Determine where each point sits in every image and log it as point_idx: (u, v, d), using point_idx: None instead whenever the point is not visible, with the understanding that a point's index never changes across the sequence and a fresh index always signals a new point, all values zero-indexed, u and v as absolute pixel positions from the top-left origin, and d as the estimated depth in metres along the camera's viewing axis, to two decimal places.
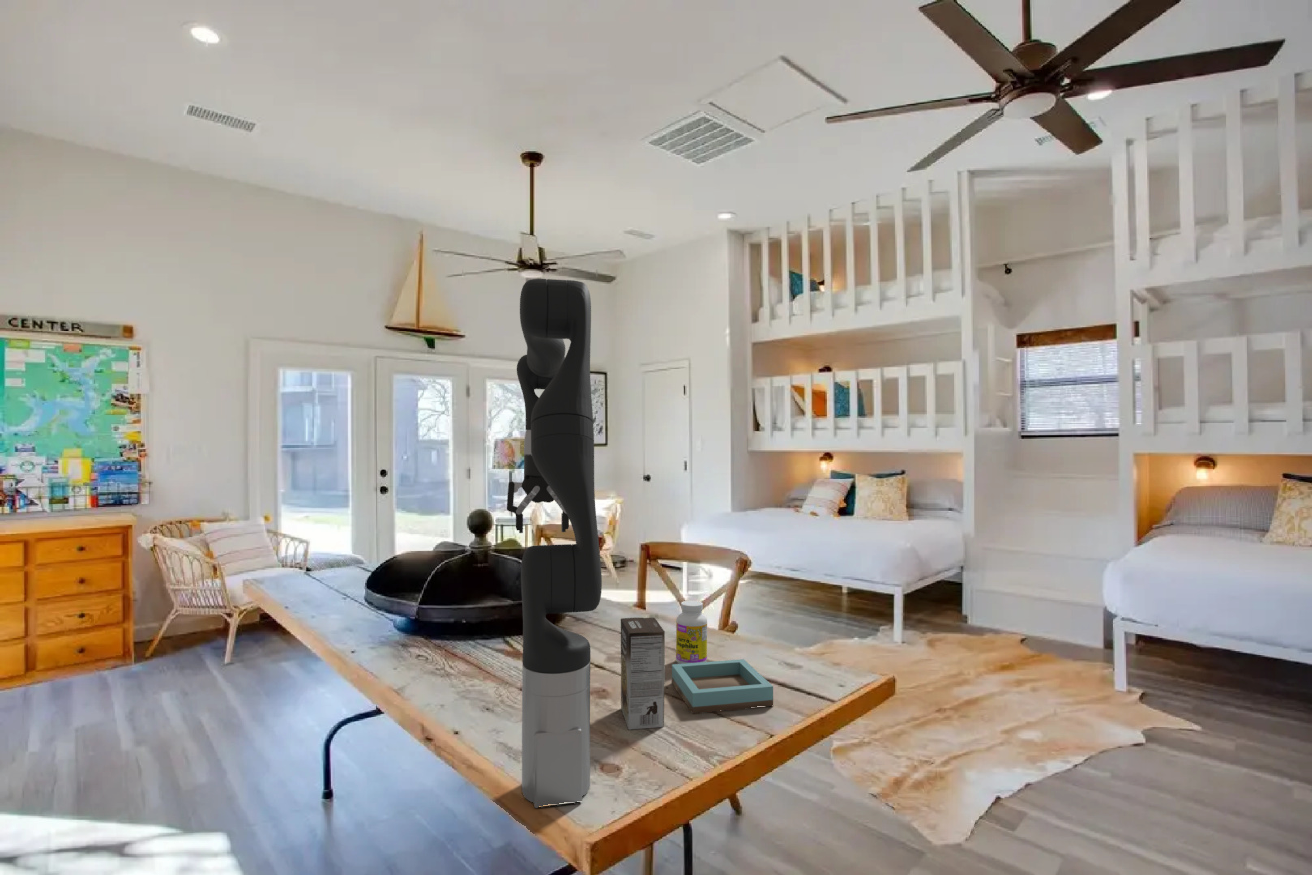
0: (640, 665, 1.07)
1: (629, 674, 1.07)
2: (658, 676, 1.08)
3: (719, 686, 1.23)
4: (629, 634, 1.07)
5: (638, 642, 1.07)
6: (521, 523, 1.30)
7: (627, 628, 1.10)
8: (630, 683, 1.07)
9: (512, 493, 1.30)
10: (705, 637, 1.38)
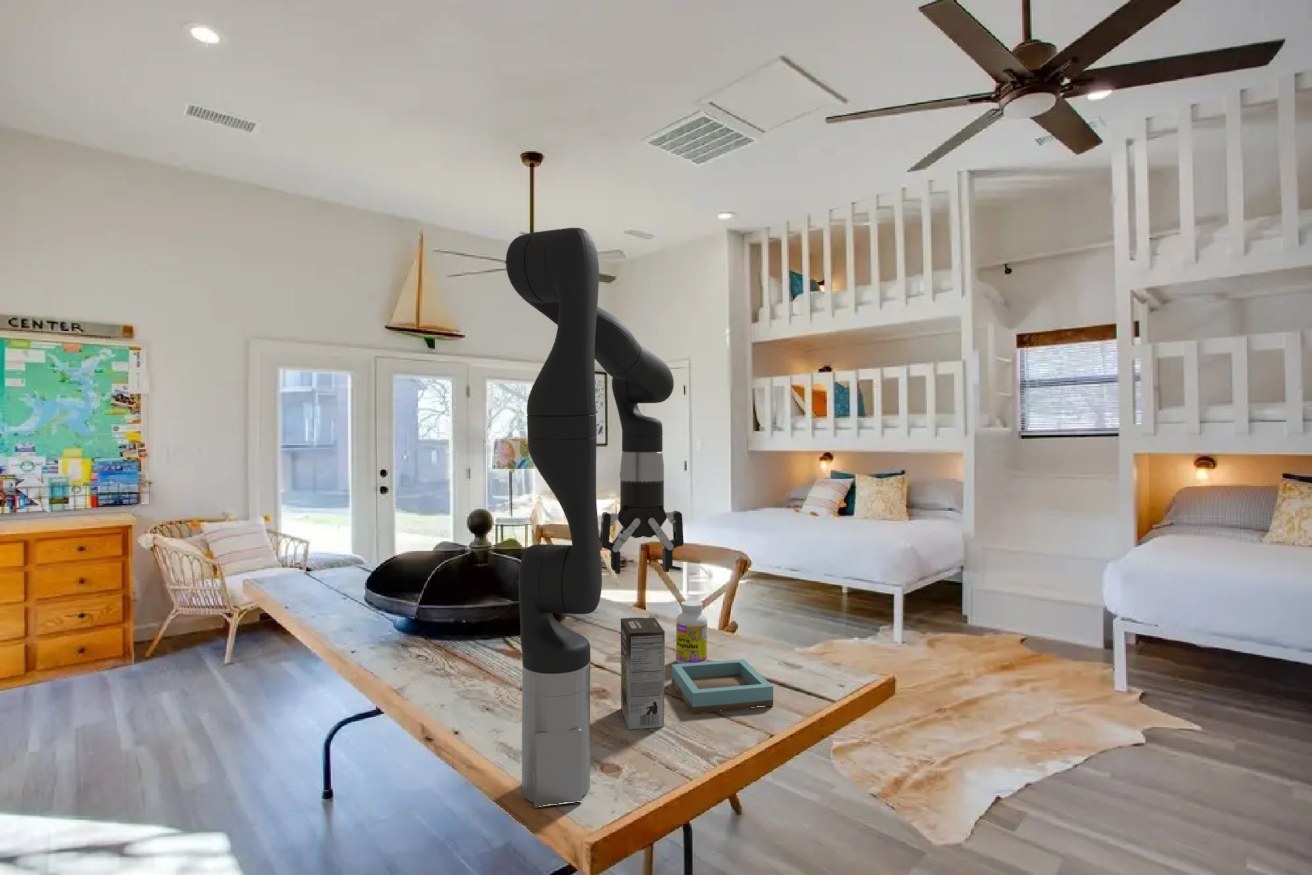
0: (640, 665, 1.07)
1: (629, 674, 1.07)
2: (658, 676, 1.08)
3: (719, 686, 1.23)
4: (629, 634, 1.07)
5: (638, 642, 1.07)
6: (618, 562, 1.10)
7: (627, 628, 1.10)
8: (630, 683, 1.07)
9: (608, 527, 1.10)
10: (705, 637, 1.38)
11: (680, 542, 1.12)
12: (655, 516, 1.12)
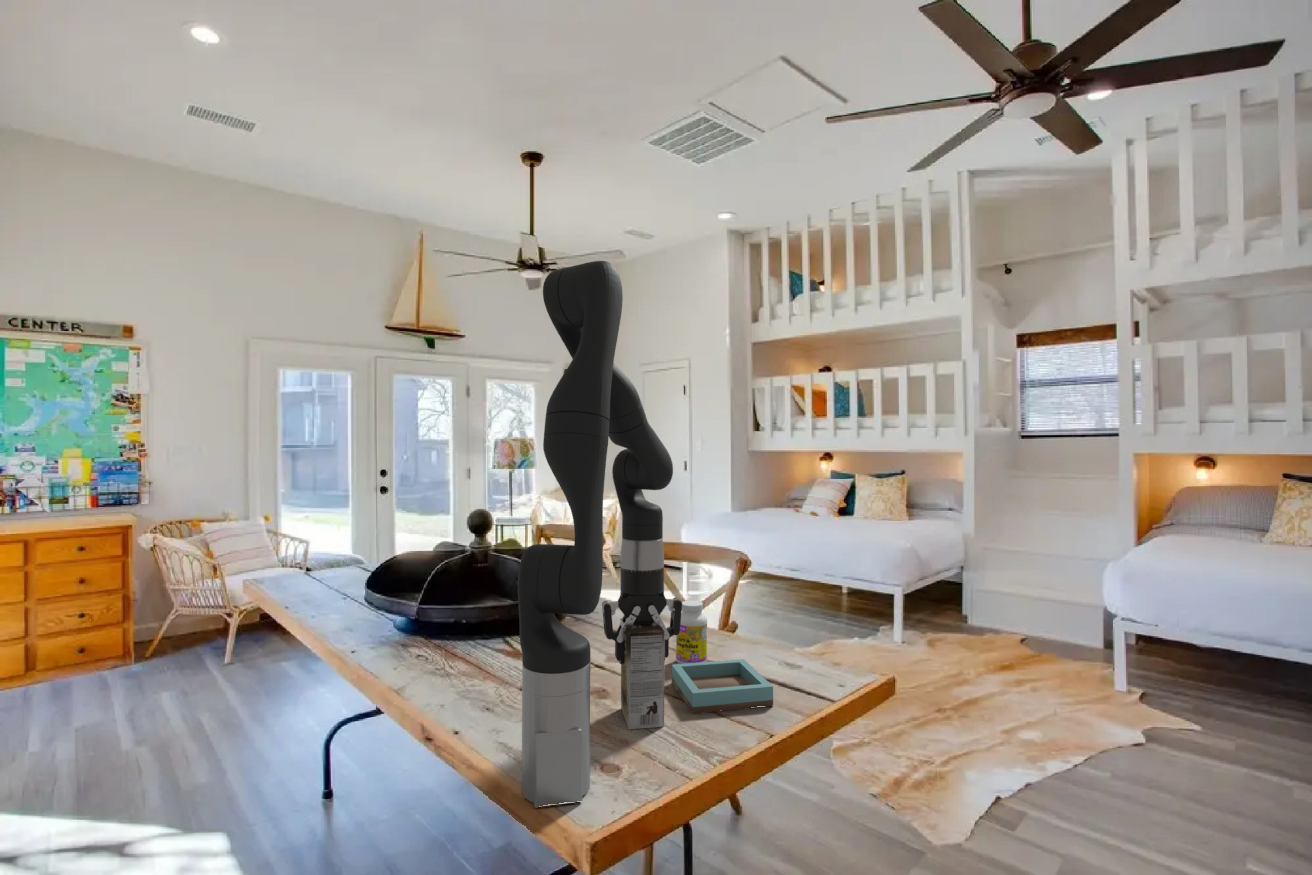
0: (640, 665, 1.07)
1: (629, 674, 1.07)
2: (658, 676, 1.08)
3: (719, 686, 1.23)
4: (629, 634, 1.07)
5: (638, 642, 1.07)
6: (623, 652, 1.10)
7: (627, 628, 1.10)
8: (630, 683, 1.07)
9: (610, 617, 1.10)
10: (705, 637, 1.38)
11: (676, 631, 1.12)
12: (655, 602, 1.12)
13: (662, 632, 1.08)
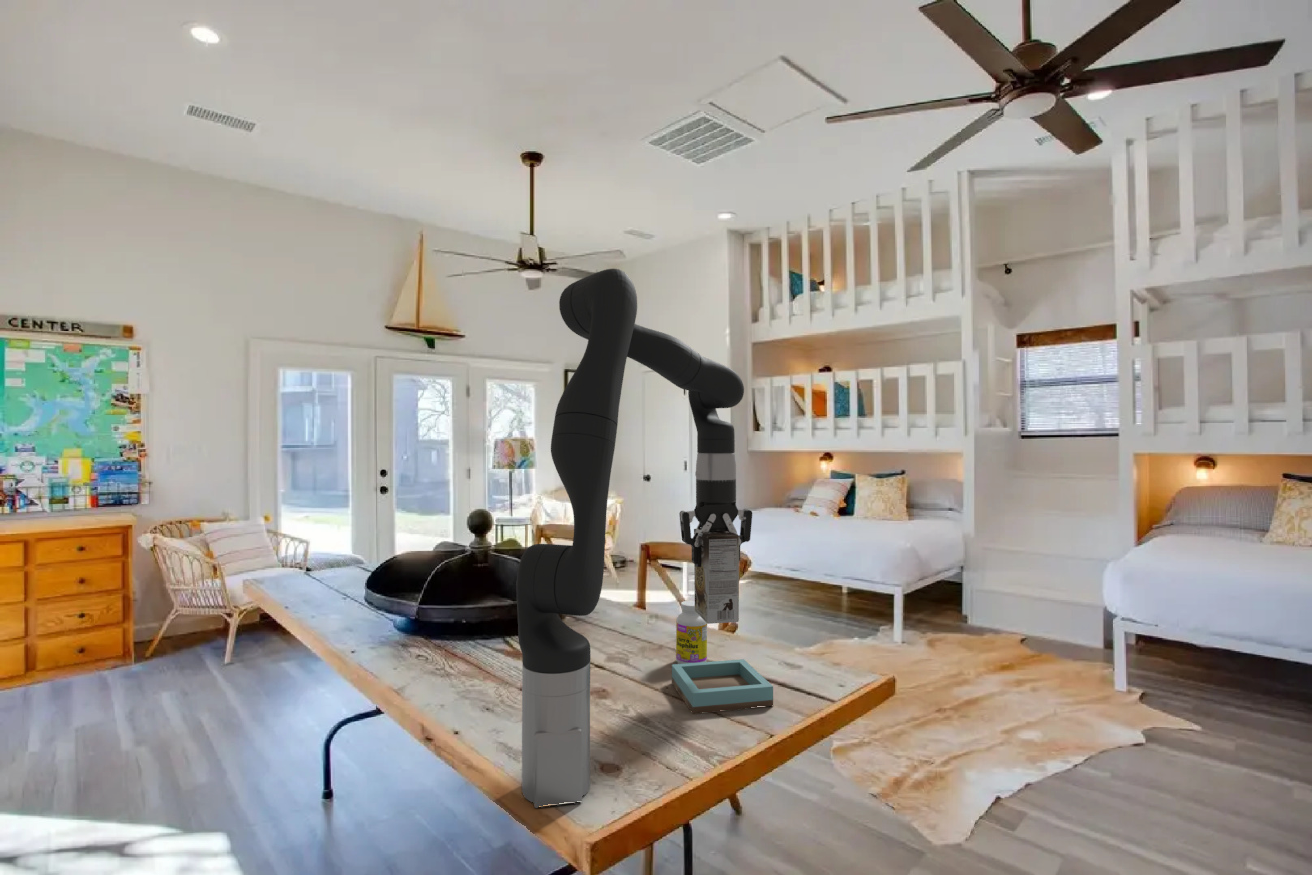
0: (717, 565, 1.18)
1: (707, 573, 1.18)
2: (733, 575, 1.19)
3: (719, 686, 1.23)
4: (707, 537, 1.18)
5: (715, 544, 1.18)
6: (700, 556, 1.21)
7: None
8: (708, 582, 1.18)
9: (688, 524, 1.20)
10: (705, 637, 1.38)
11: (747, 538, 1.23)
12: (728, 511, 1.22)
13: (737, 536, 1.19)
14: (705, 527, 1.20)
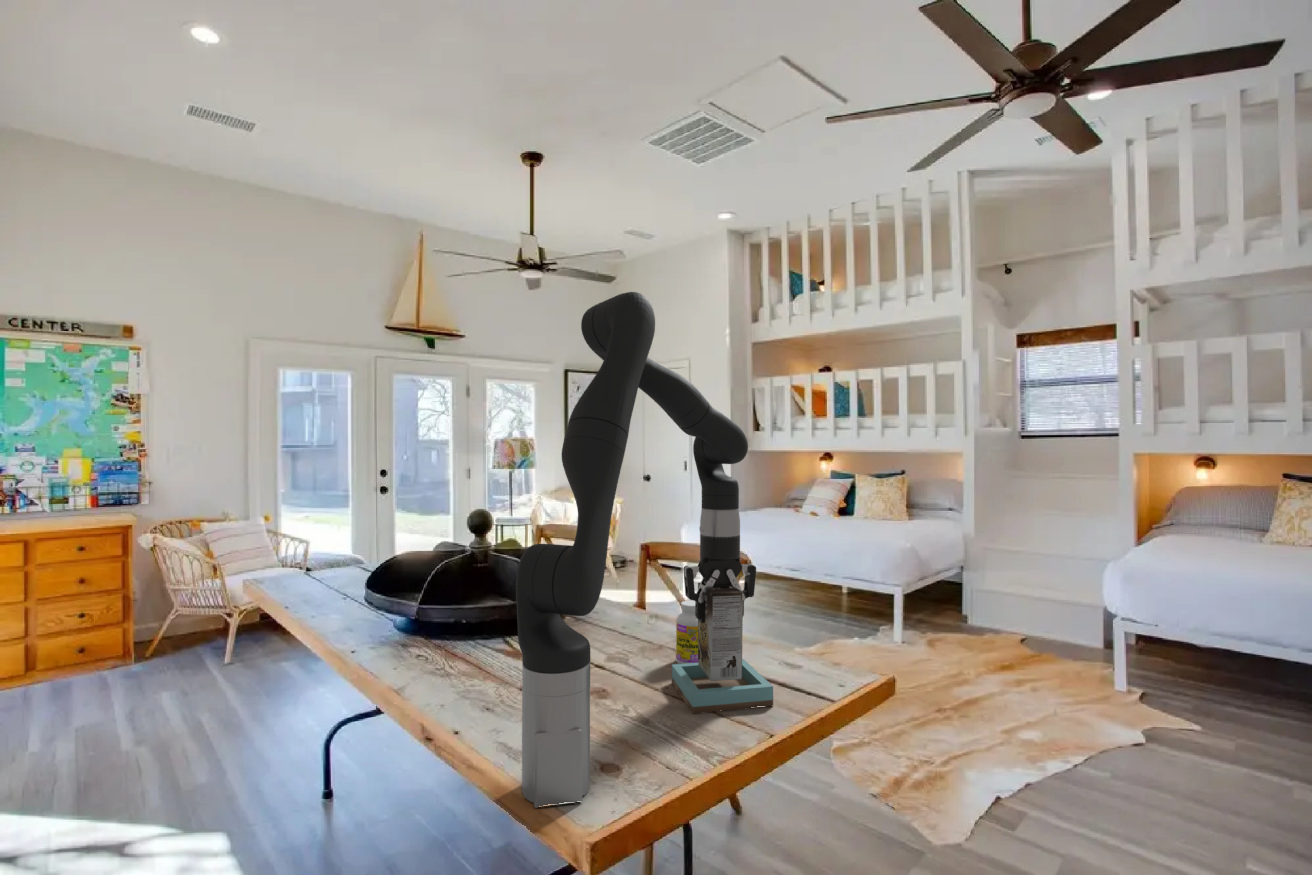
0: (721, 622, 1.18)
1: (711, 630, 1.18)
2: (737, 632, 1.19)
3: (719, 686, 1.23)
4: (711, 594, 1.18)
5: (719, 601, 1.18)
6: (703, 612, 1.21)
7: None
8: (712, 639, 1.18)
9: (692, 580, 1.20)
10: None
11: (751, 593, 1.23)
12: (732, 566, 1.22)
13: (740, 593, 1.19)
14: (709, 583, 1.20)
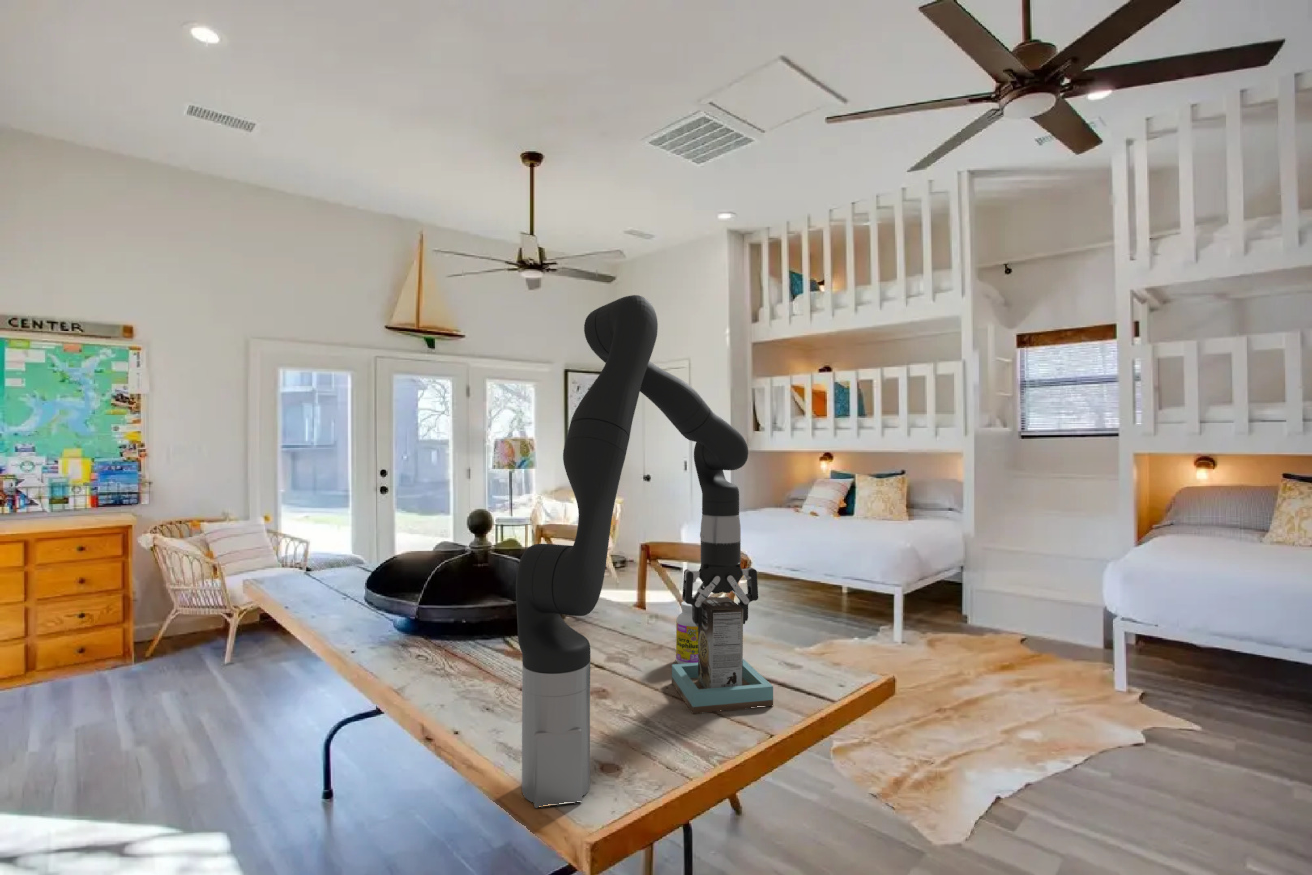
0: (721, 639, 1.18)
1: (711, 647, 1.18)
2: (737, 649, 1.19)
3: None
4: (711, 610, 1.18)
5: (719, 618, 1.18)
6: (700, 616, 1.21)
7: (708, 605, 1.20)
8: (712, 655, 1.18)
9: (691, 584, 1.20)
10: None
11: (755, 597, 1.23)
12: (733, 573, 1.22)
13: (741, 609, 1.19)
14: (708, 588, 1.20)
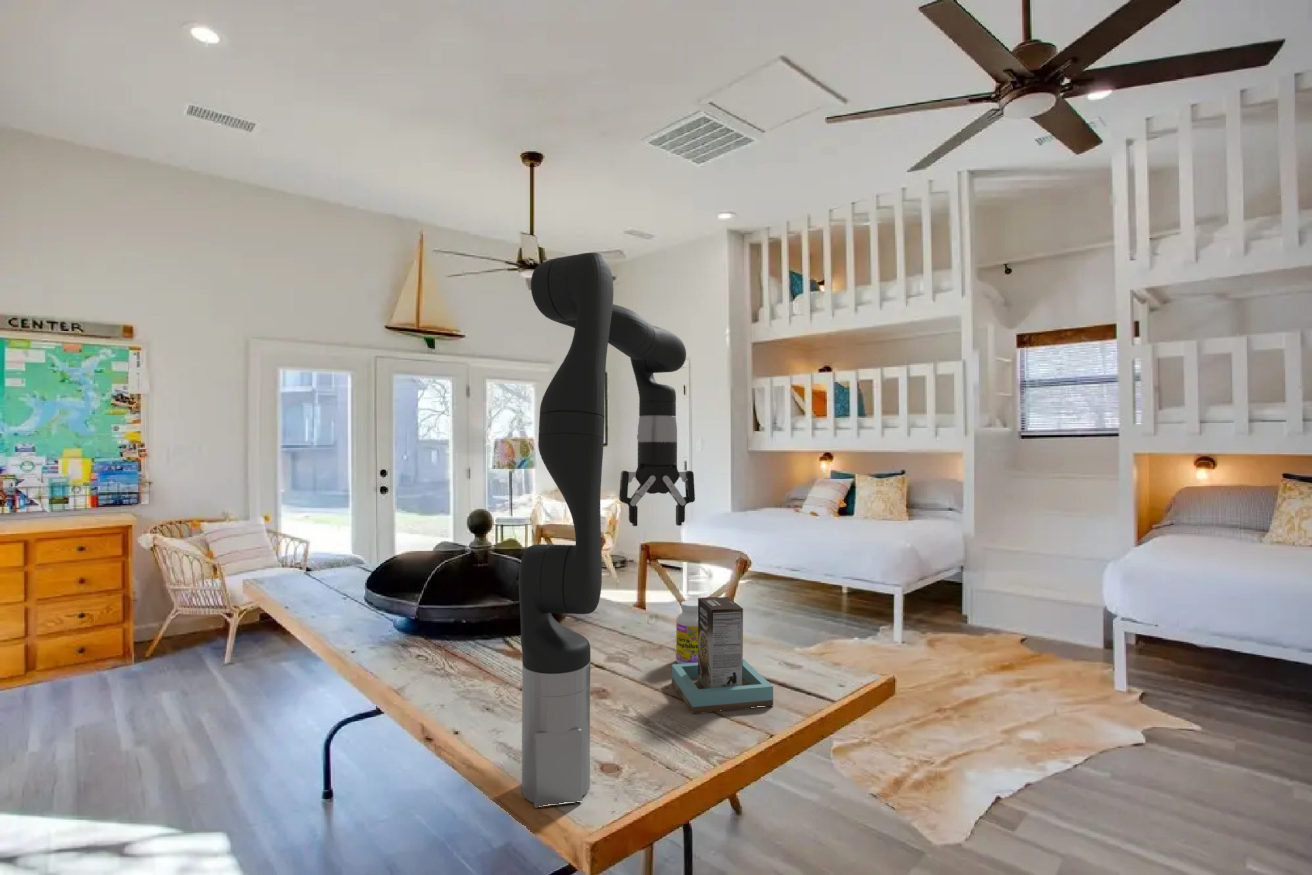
0: (721, 639, 1.18)
1: (711, 647, 1.18)
2: (737, 649, 1.19)
3: None
4: (711, 610, 1.18)
5: (719, 618, 1.18)
6: (635, 515, 1.22)
7: (708, 605, 1.20)
8: (712, 655, 1.18)
9: (626, 483, 1.21)
10: None
11: (692, 498, 1.24)
12: (669, 474, 1.23)
13: (741, 609, 1.19)
14: (643, 487, 1.22)
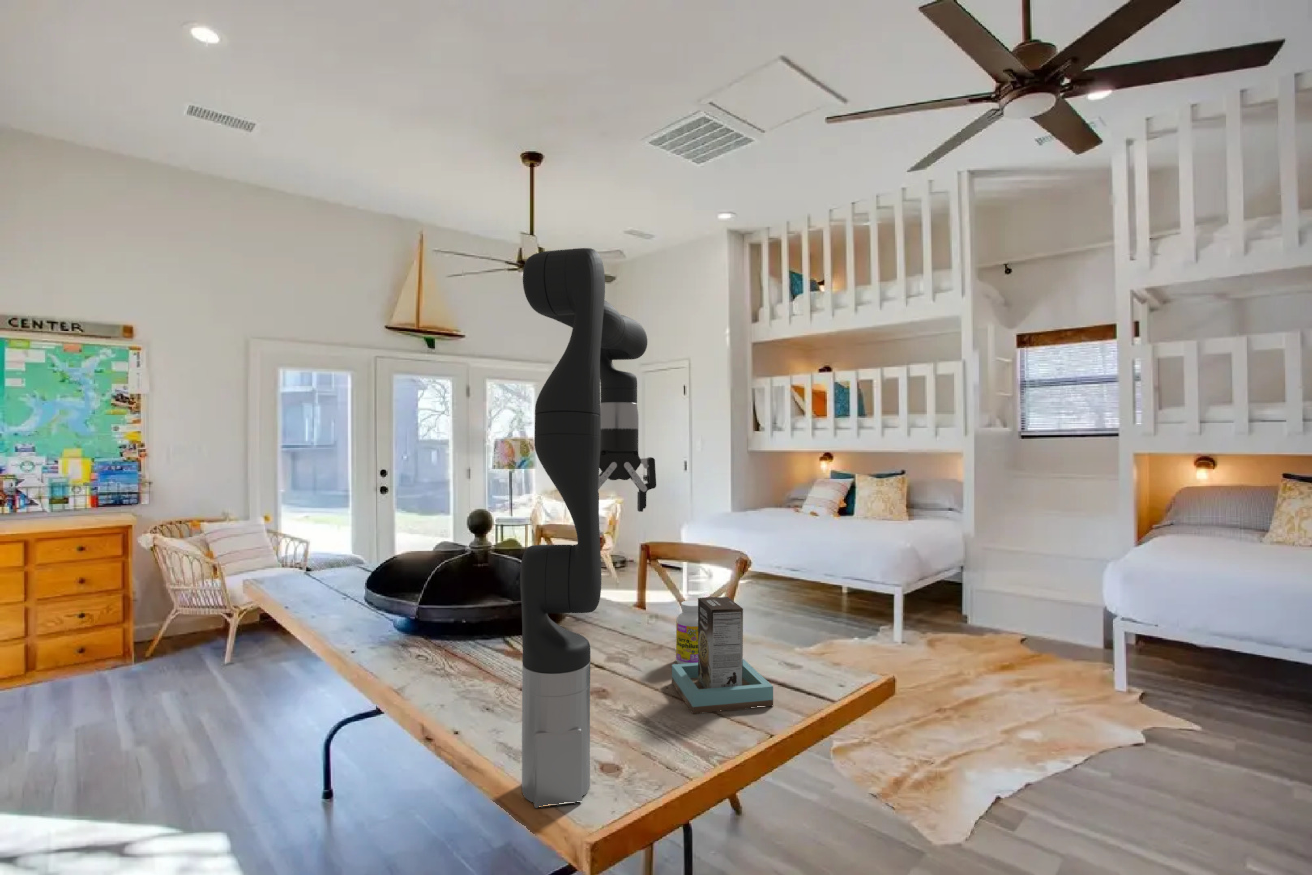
0: (721, 639, 1.18)
1: (711, 647, 1.18)
2: (737, 649, 1.19)
3: None
4: (711, 610, 1.18)
5: (719, 618, 1.18)
6: None
7: (708, 605, 1.20)
8: (712, 655, 1.18)
9: None
10: None
11: (653, 485, 1.25)
12: (630, 461, 1.24)
13: (741, 609, 1.19)
14: (604, 474, 1.22)
